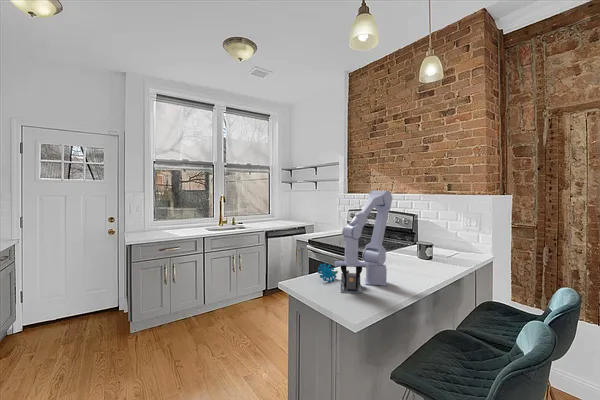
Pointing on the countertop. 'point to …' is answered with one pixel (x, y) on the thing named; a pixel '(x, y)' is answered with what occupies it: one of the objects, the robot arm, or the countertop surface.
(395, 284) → the countertop surface
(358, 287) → the motor mount
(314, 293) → the countertop surface
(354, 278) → the grey knobbed block
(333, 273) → the gear
